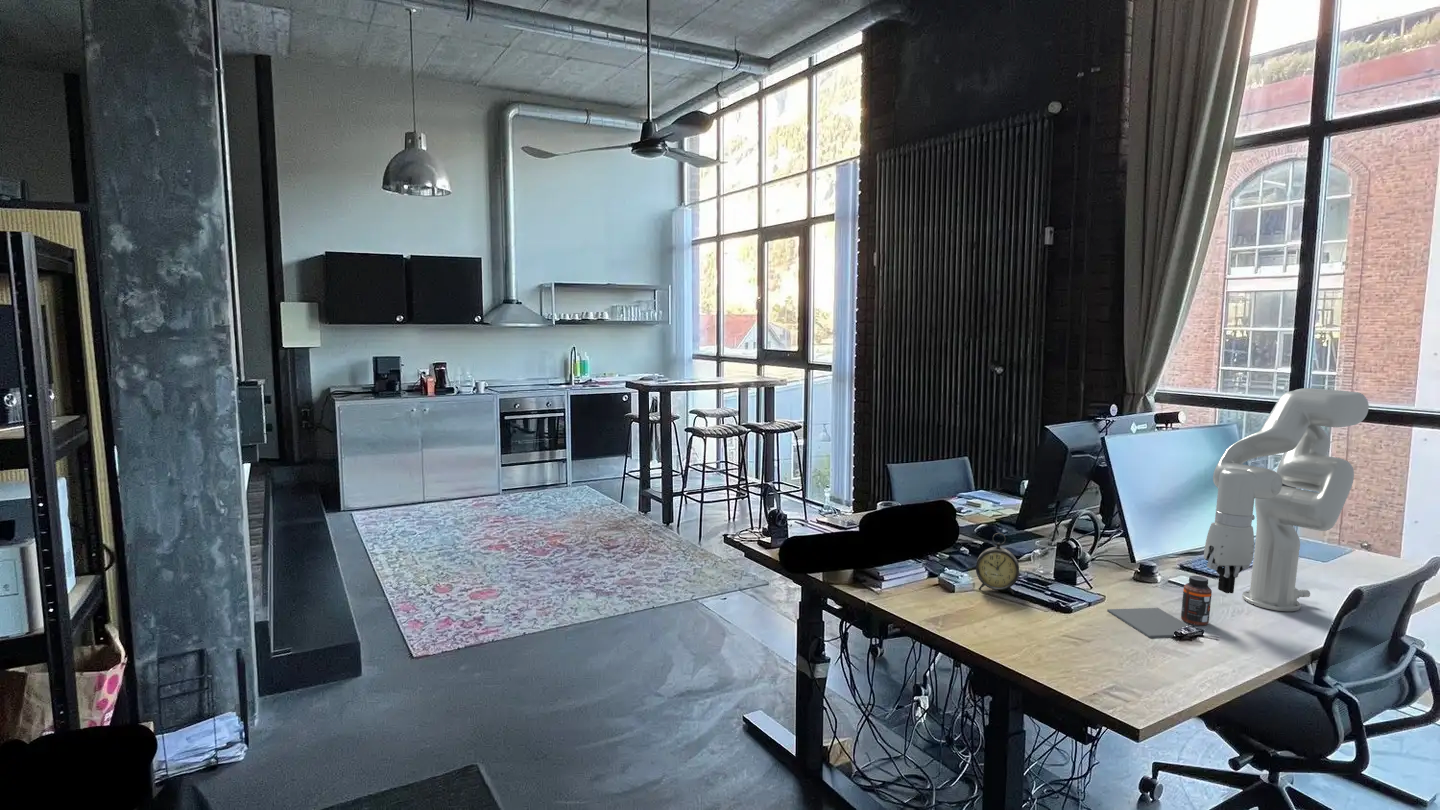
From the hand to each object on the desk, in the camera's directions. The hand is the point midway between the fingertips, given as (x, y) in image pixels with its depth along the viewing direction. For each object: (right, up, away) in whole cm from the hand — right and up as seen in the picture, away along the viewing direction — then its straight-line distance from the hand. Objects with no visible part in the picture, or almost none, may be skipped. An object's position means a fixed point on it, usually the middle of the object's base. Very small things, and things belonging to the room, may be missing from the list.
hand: (1225, 591), depth 191 cm
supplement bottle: (-8, -8, 0) cm, 11 cm away
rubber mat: (-19, -8, -1) cm, 20 cm away
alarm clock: (-50, -5, +19) cm, 54 cm away
